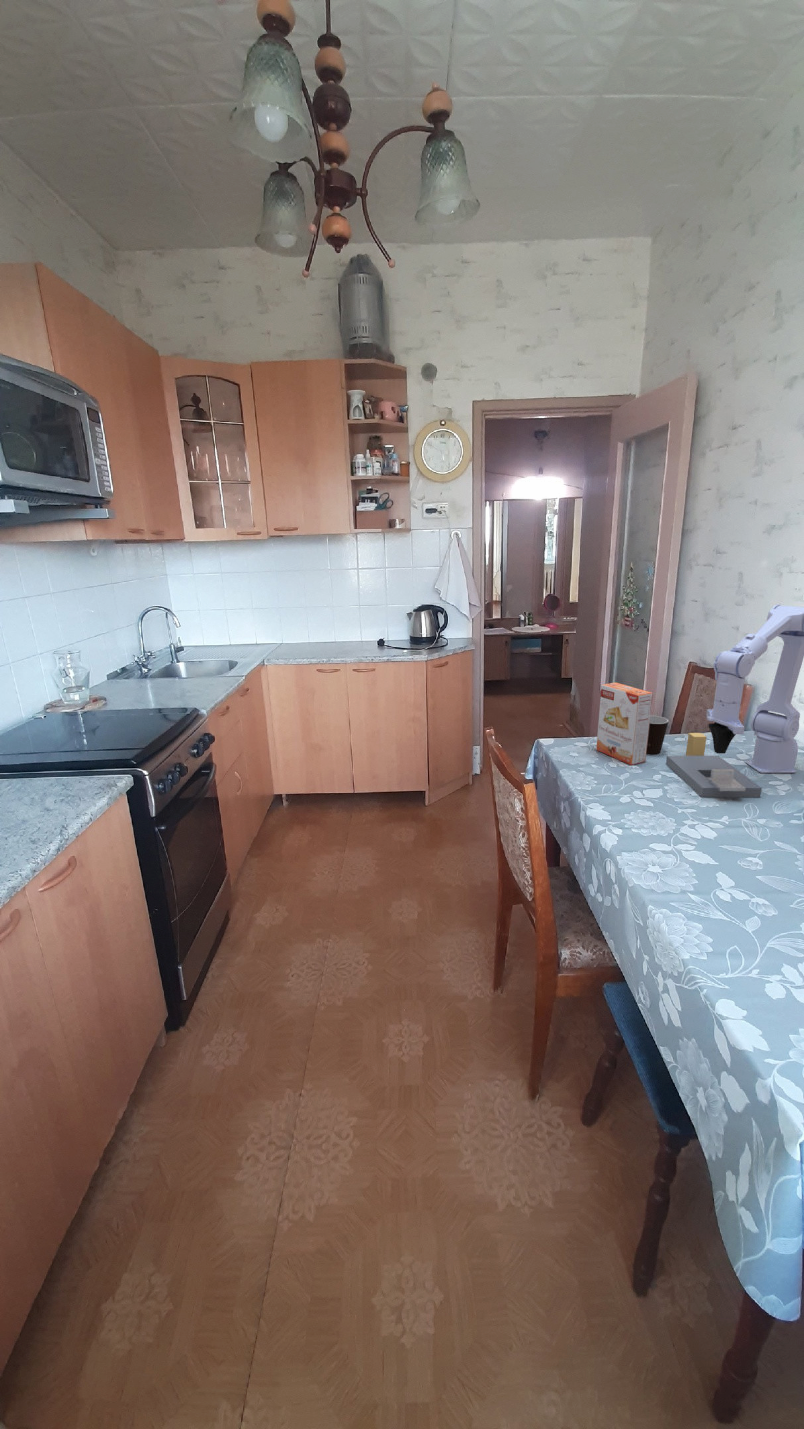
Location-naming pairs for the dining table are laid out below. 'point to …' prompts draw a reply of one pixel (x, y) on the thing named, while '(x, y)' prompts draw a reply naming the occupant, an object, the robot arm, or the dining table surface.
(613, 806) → the dining table surface
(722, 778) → the panel
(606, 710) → the cracker box
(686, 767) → the socket plate
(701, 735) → the plug
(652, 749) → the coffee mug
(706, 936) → the dining table surface
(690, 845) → the dining table surface
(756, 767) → the robot arm
